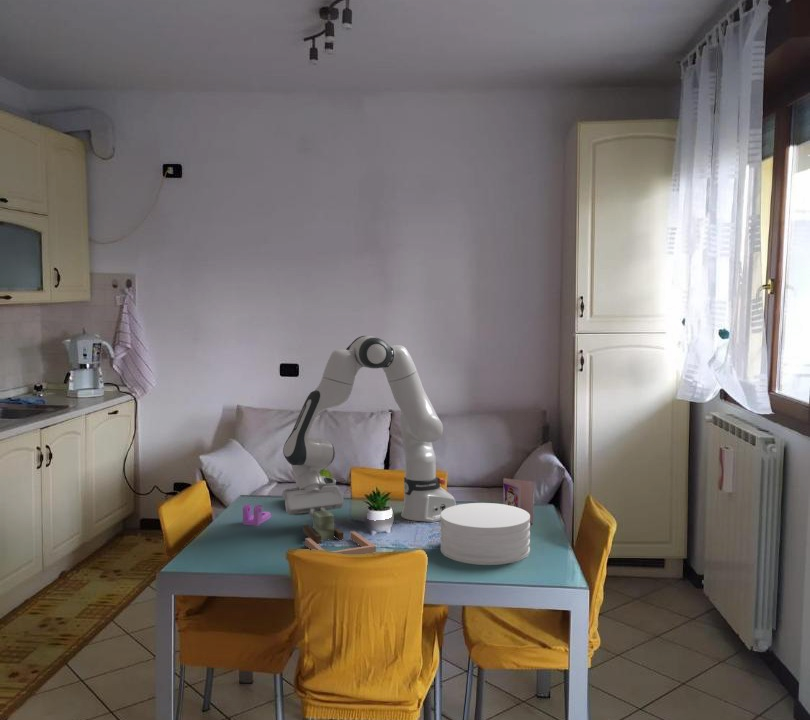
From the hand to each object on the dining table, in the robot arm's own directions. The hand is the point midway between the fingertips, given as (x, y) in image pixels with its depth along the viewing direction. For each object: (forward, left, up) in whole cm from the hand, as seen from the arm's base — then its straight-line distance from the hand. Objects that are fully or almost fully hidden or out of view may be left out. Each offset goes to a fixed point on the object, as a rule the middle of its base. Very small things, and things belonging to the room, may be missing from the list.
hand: (319, 521), depth 266 cm
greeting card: (-67, +19, -5) cm, 70 cm away
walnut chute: (0, +3, -4) cm, 5 cm away
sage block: (0, +4, -4) cm, 6 cm away
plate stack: (-41, +39, -5) cm, 57 cm away
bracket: (+14, -26, -5) cm, 30 cm away
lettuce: (-10, -35, -5) cm, 37 cm away
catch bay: (0, +18, -4) cm, 19 cm away
